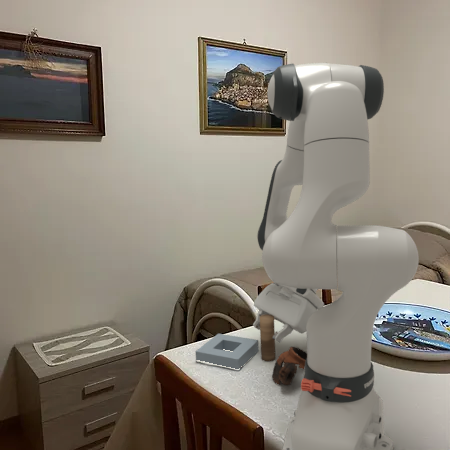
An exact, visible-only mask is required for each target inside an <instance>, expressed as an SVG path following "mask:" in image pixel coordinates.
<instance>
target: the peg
mask: <svg viewBox="0 0 450 450" xmlns="http://www.w3.org/2000/svg"><path fill="white" fill-rule="evenodd" d="M259 333H260V355H261V356H260V359H261V360H262V361H263V360H264V362H273V361H276V359H277V358H276V340H274V339H273V335H275V333H276V331H275V319H274V316H272V315H269V314H265V315H261V316H260V330H259Z"/></svg>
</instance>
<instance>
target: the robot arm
mask: <svg viewBox="0 0 450 450" xmlns="http://www.w3.org/2000/svg"><path fill="white" fill-rule="evenodd" d="M384 88H385V86H384V78H383V76H382V74H381V72H380V71H379V70H378V69H377V68H375V67H372V66H368V65H363V64H360V65H352V64H344V63H343V64H342V63H340V64H339V63H328V62H311V63H301V64H294V63H288V64H287V63H286V64H284V65H280V66H277V67H276V68H275V70H274V71H273V72H272V76H271V78H270V80H269V82H268V86H267V94H266V95H267V101H268V105H269V107H270V110H271V113H272V114H273V115H274V116H275V117H276V118H278V119H281V120H285V121H289V122H288V123H289V125H288V127H287V128H288V129H287V135H286V136H287V138H286V148H285V153H284V155H283V157H282V159H281V160H278V162H277V163H276V165H275V166H274V169H273V170H272V171H273V172H272V175H271V179H270V182H269V187H268V191H267V192H268V193H267V197H266V202H265V207H264V212H263V216H262V217H263V218H262V219H261V223H260V225H259V227H258V230H257V235H256V237H257V243H258V247H259V248H260V250H261V251H262V252H261V260H262V265H263V268H264V269H263V270H265V273H266V275H267V276H268V278H269V279H270V280H271V281H272V282H273V283H272V282H271V283H270V284H268V285H267V286H266V287H265V288H264V289H263V290H262V291H261V292H260V293H259V294H258V295H257V297H256V298H255V299H254V301H253V306H254V307H255V308H256V309H257V310H258V311H257V312H256V318H255V321H254V322H253V324H252V327H254V328H255V329H256V330H259V331H260V316H261V315H265V314H269V315H272V316H274V320H276V321H277V322H280V323H282V324H283V326H282V328H281V330H279V331H275V335H273V339H274V340H275V342H277V343H281V342H282V341H283V339H284V338H286V337H287V336H289V335H290V334H291V333H292V332H293V331H296V332H297V333H299V334H304V333H306V353H307V359H306V361H305V367H304V369H303V378H302V380H301V383H300V392H299V396H298V402H297V406H296V410H295V411H294V414H293V415H292V417H290V420H289V423H288V426H287V430H286V435H285V438H284V442H283V446H282V449H281V450H394V448H395V445H394V440H393V439H392V438H391V437H390V436H388V435H387V434H385V430H384V428H385V427H384V408H383V407H384V404H383V399H382V398H381V397H380V395H378V393H377V391H376V390H375V388H374V385H375V384H374V383H375V382H374V381H375V371H374V365H373V362H372V340H373V332H374V325H375V322H376V319H377V317H378V314H379V312H380V310H381V309H382V308H383V306H384V305H385V304H386V302H387V301H388V300H389V299H390V298H391V297H392V296H393V295H394V294H396V293H397V292H398V291H399V290H401V289H403V288H404V287H407V286H408V285H409V283H411V281H412V280H413V278H414V277H415V275H416V273H417V271H418V267H419V261H420V259H419V258H420V257H419V251H418V247H417V245H416V244H417V243H415V241H414V239H413V238H412V236H411V235H410V234H409V233H408V232H407V231H405V230H404V229H400V228H395V227H389V226H384V225H378V224H377V225H376V224H373V225H372V224H370V225H369V224H367V225H366V224H365V225H363V224H362V225H360V224H359V225H357V224H356V225H355V224H354V225H337V224H334V223H333V222H332V219H333V216H335V215H334V214H335V213H336V212H337V211H339V210H340V209H342V208H344V207H346V206H348V205H351V204H352V203H354V202H356V201H358V200H359V199H361V198H362V197H363V196H364V195H365V194H366V193H367V192H368V189H369V187H370V183H371V180H370V179H371V174H370V172H371V171H370V169H371V167H370V164H371V163H370V133H369V121H368V120H370V119H373V118H374V117H375V116H377V115H376V114H378V113H379V112H380V110H381V107H382V105H383V100H384V95H385V89H384ZM295 186H301V191H300V195H299V198H298V201H297V202H296V203H297V204H296V205H295V207H294V209H293V211H292V212H291V213H290V215H289V217H288V216H287V212H288V211H287V210H288V208H289V207H288V206H289V203H290V198H291V194H292V191H293V189H294V187H295ZM318 290H337V291H341V292H342V293H341V295H340V296H339V297H338V298H337V299H336V300H334V301H333V302H331V303H329V304H326V305H325V303H324V302H323V300H322V299H321V298H320V297H319V296H318V295H317V291H318Z"/></svg>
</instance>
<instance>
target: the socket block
mask: <svg viewBox="0 0 450 450" xmlns="http://www.w3.org/2000/svg"><path fill="white" fill-rule="evenodd" d="M223 349H225V350H230V351H233V352H230V351H225V350H223ZM259 349H260V347H259V339H255V338H248V337H242V336H235V335H229V334H224V333H223V334H222V333H217V334H216V335H215V336H213V337H212V338H211V339H209V340H208V341H207V342H205V343H204V344H203V345H202V346H201V347H198V349H197V350H196V351H195V361H196V360H200V361H205V362H209V363H213V364H217V365H222V366H226V367H231V368H235V369H239V368H241V366H243V365H244V364H245V363H246V362H247V361H248V360H249V359H250V358H251V357H252V358H253V357H254V356H255V355H256V354H257V353H259V351H260V350H259ZM252 358H251V359H252ZM251 359H250V360H251ZM250 360H249V361H250ZM249 361H248V362H249ZM248 362H247V363H248ZM247 363H246V364H247ZM246 364H245V365H246ZM245 365H244V366H245ZM244 366H243V367H244ZM241 369H242V368H241Z"/></svg>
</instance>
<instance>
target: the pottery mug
mask: <svg viewBox="0 0 450 450" xmlns="http://www.w3.org/2000/svg"><path fill="white" fill-rule="evenodd" d="M306 359H307V351H305V350H303V349H301V348H299V347H297V346H289V349H288V350H286V351H283V352H282V353H281V354H280V355H279V356H278V358H276V359H275V363H274V366H273V369H272V375H271V378H272V380H273V382H274V383H275V384H276V383H277V384H279V385H280V383H282V385H284V386H291V385H292V384H291V383H292V381H293V379H294V377H295V376H296V375H297V371H298V368H299V369H301V370H304V367H305V361H306ZM277 384H276V385H277Z"/></svg>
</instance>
